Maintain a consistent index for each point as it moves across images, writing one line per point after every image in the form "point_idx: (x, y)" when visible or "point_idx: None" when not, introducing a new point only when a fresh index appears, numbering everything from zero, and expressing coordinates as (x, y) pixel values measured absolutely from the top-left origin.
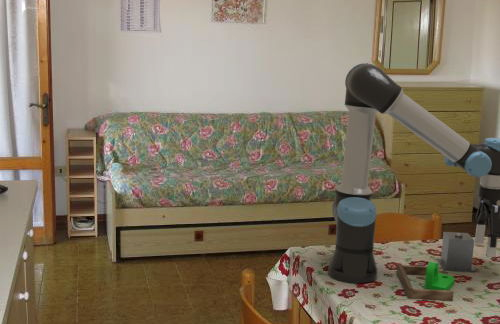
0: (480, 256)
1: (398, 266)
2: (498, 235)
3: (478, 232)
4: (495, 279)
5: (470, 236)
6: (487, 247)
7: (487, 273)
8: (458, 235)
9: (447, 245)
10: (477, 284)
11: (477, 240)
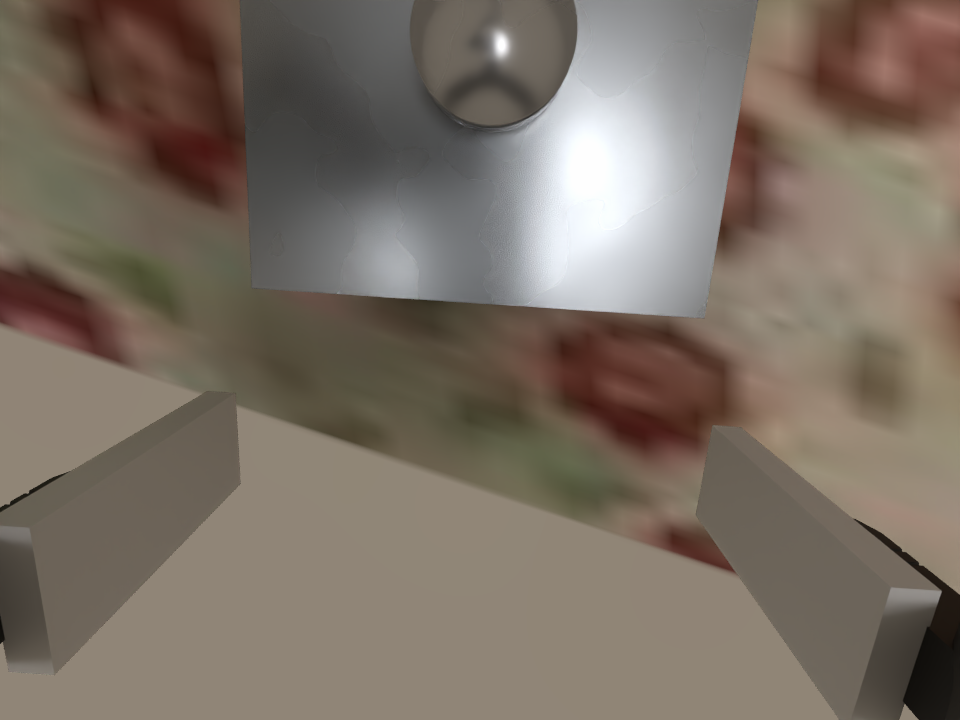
0: None
1: None
2: None
3: (787, 528)
4: None
5: (486, 295)
6: (150, 433)
7: (336, 379)
8: (419, 8)
9: None
10: (44, 202)
11: (726, 464)
